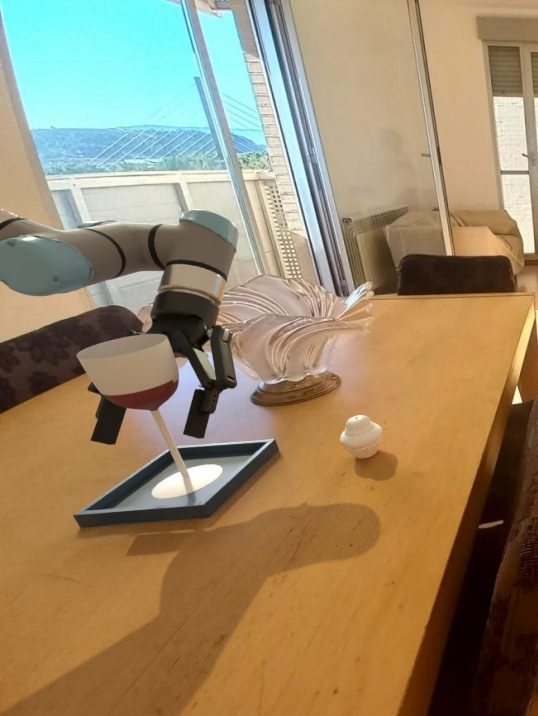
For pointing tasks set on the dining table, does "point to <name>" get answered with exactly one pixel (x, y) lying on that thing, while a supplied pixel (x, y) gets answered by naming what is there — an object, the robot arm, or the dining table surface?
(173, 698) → the dining table surface
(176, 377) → the wineglass
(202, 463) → the tray
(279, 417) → the dining table surface
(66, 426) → the dining table surface
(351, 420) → the muffin
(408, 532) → the dining table surface
